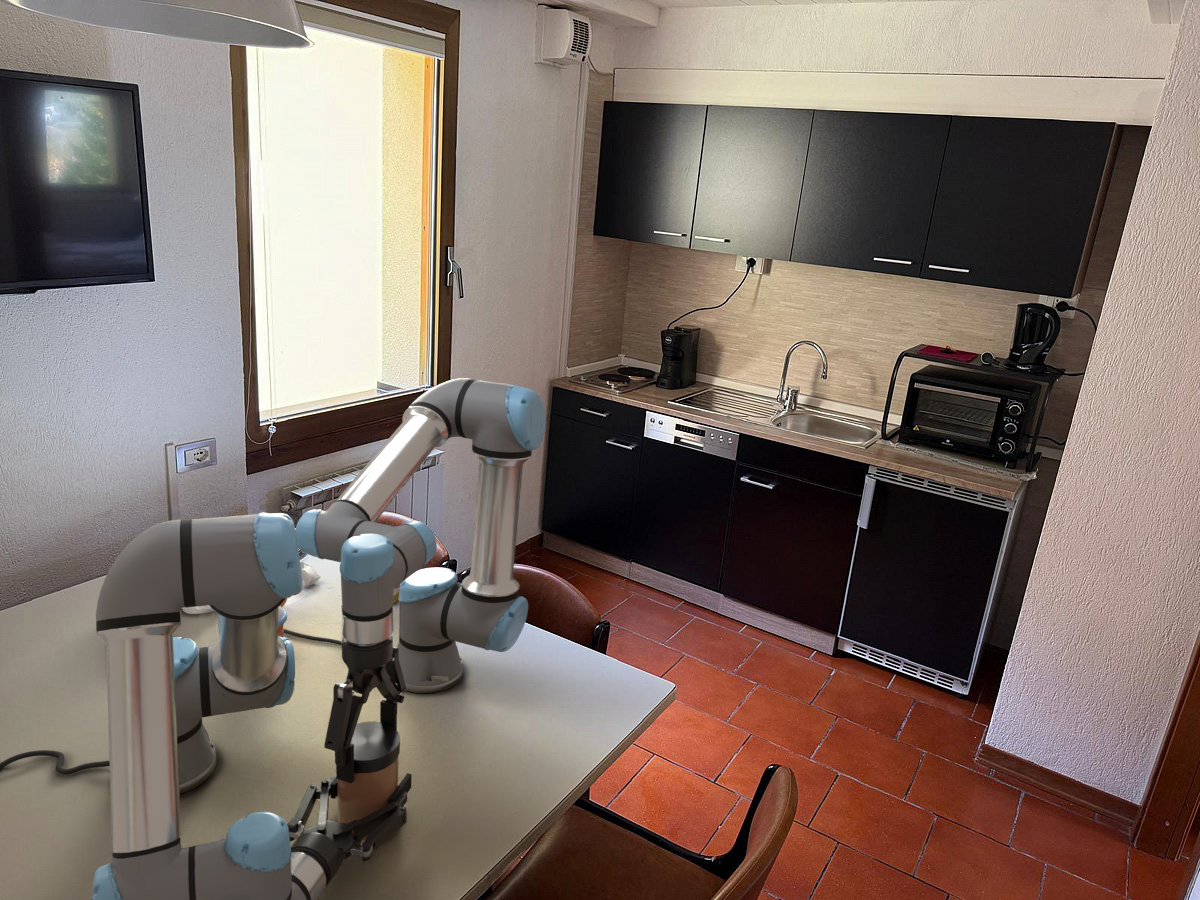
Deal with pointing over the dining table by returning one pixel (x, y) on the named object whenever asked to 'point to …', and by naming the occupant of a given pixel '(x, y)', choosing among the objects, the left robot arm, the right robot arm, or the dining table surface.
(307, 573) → the clamp
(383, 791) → the jar
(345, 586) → the right robot arm
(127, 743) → the left robot arm
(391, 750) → the lid
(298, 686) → the dining table surface
